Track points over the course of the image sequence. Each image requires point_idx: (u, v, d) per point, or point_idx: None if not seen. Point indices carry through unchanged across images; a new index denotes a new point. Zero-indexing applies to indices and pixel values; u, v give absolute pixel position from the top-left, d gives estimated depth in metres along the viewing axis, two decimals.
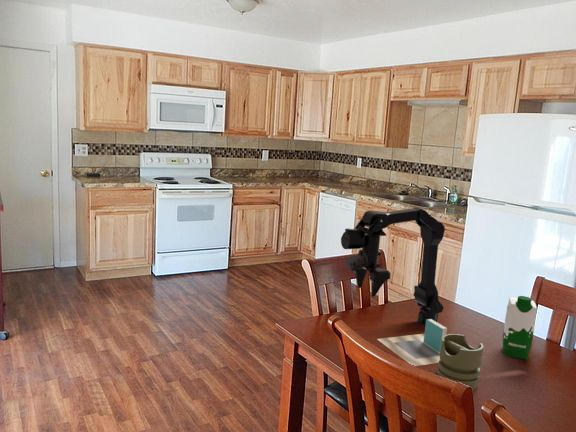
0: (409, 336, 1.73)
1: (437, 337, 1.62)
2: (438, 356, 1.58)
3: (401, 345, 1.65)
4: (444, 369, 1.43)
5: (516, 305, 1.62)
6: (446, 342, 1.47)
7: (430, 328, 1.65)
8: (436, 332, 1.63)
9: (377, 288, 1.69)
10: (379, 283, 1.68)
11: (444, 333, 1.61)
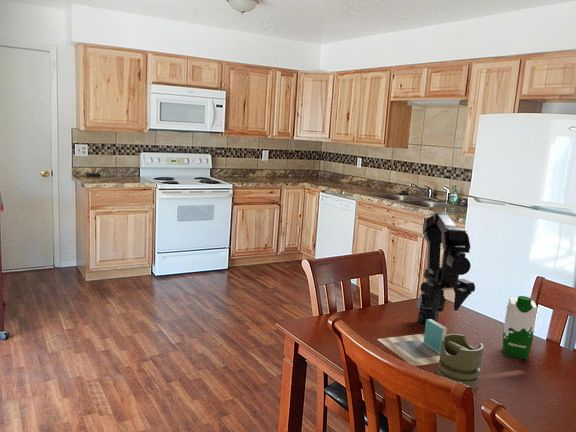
0: (409, 336, 1.73)
1: (437, 337, 1.62)
2: (438, 356, 1.58)
3: (401, 345, 1.65)
4: (444, 369, 1.43)
5: (516, 305, 1.62)
6: (446, 342, 1.47)
7: (430, 328, 1.65)
8: (436, 332, 1.63)
9: (433, 304, 1.63)
10: (434, 299, 1.63)
11: (444, 333, 1.61)
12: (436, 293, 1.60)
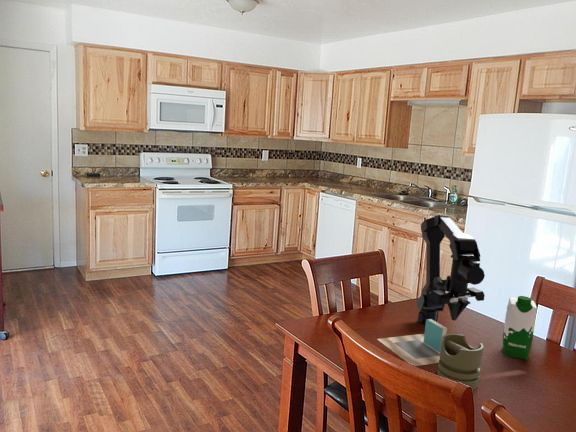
0: (409, 336, 1.73)
1: (437, 337, 1.62)
2: (438, 356, 1.58)
3: (401, 345, 1.65)
4: (444, 369, 1.43)
5: (516, 305, 1.62)
6: (446, 342, 1.47)
7: (430, 328, 1.65)
8: (436, 332, 1.63)
9: (453, 312, 1.65)
10: (453, 307, 1.64)
11: (444, 333, 1.61)
12: (444, 302, 1.60)
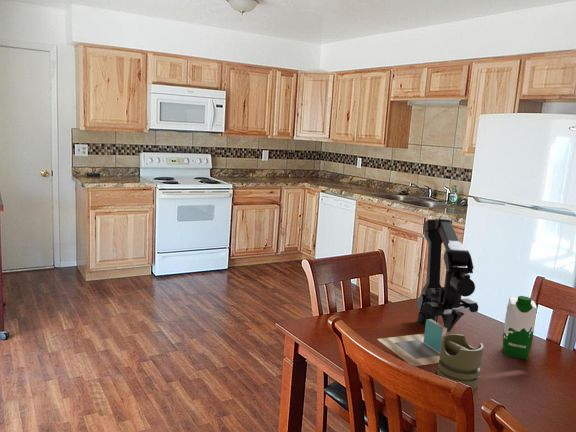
0: (409, 336, 1.73)
1: (437, 337, 1.62)
2: (438, 356, 1.58)
3: (401, 345, 1.65)
4: (444, 369, 1.43)
5: (516, 305, 1.62)
6: (446, 342, 1.47)
7: (430, 328, 1.65)
8: (436, 332, 1.63)
9: (446, 323, 1.65)
10: (447, 318, 1.64)
11: (444, 333, 1.61)
12: (438, 313, 1.59)
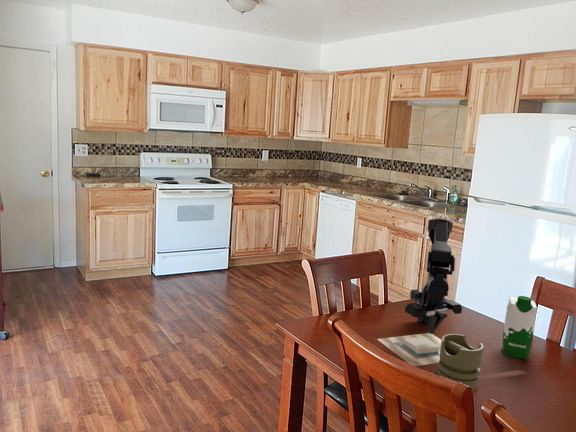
0: (409, 336, 1.73)
1: None
2: (438, 356, 1.58)
3: (401, 345, 1.65)
4: (444, 369, 1.43)
5: (516, 305, 1.62)
6: (446, 342, 1.47)
7: None
8: None
9: (429, 325, 1.62)
10: (430, 320, 1.61)
11: (423, 351, 1.59)
12: (420, 315, 1.57)
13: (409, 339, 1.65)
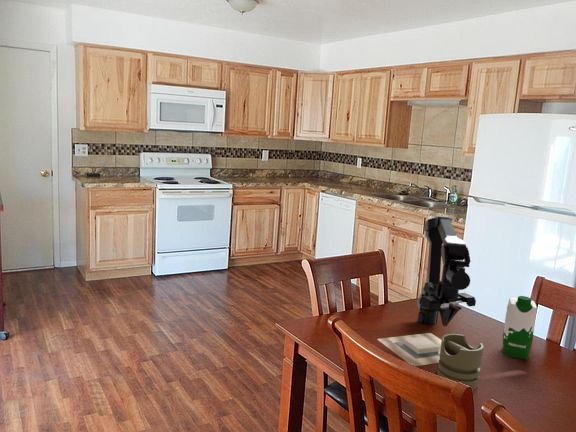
0: (409, 336, 1.73)
1: None
2: (438, 356, 1.58)
3: (401, 345, 1.65)
4: (444, 369, 1.43)
5: (516, 305, 1.62)
6: (446, 342, 1.47)
7: None
8: None
9: (443, 317, 1.64)
10: (444, 313, 1.63)
11: (423, 351, 1.59)
12: (435, 307, 1.58)
13: (409, 339, 1.65)
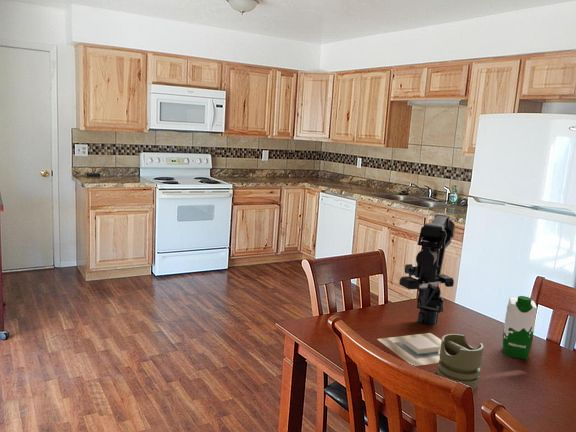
0: (409, 336, 1.73)
1: None
2: (438, 356, 1.58)
3: (401, 345, 1.65)
4: (444, 369, 1.43)
5: (516, 305, 1.62)
6: (446, 342, 1.47)
7: None
8: None
9: (423, 297, 1.71)
10: (423, 293, 1.70)
11: (423, 351, 1.59)
12: (413, 287, 1.65)
13: (409, 339, 1.65)
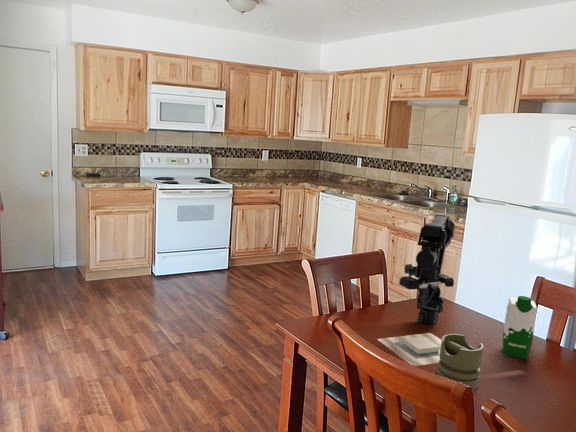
0: (409, 336, 1.73)
1: None
2: (438, 356, 1.58)
3: (401, 345, 1.65)
4: (444, 369, 1.43)
5: (516, 305, 1.62)
6: (446, 342, 1.47)
7: None
8: None
9: (423, 297, 1.71)
10: (423, 293, 1.70)
11: (423, 351, 1.59)
12: (413, 287, 1.65)
13: (409, 339, 1.65)
